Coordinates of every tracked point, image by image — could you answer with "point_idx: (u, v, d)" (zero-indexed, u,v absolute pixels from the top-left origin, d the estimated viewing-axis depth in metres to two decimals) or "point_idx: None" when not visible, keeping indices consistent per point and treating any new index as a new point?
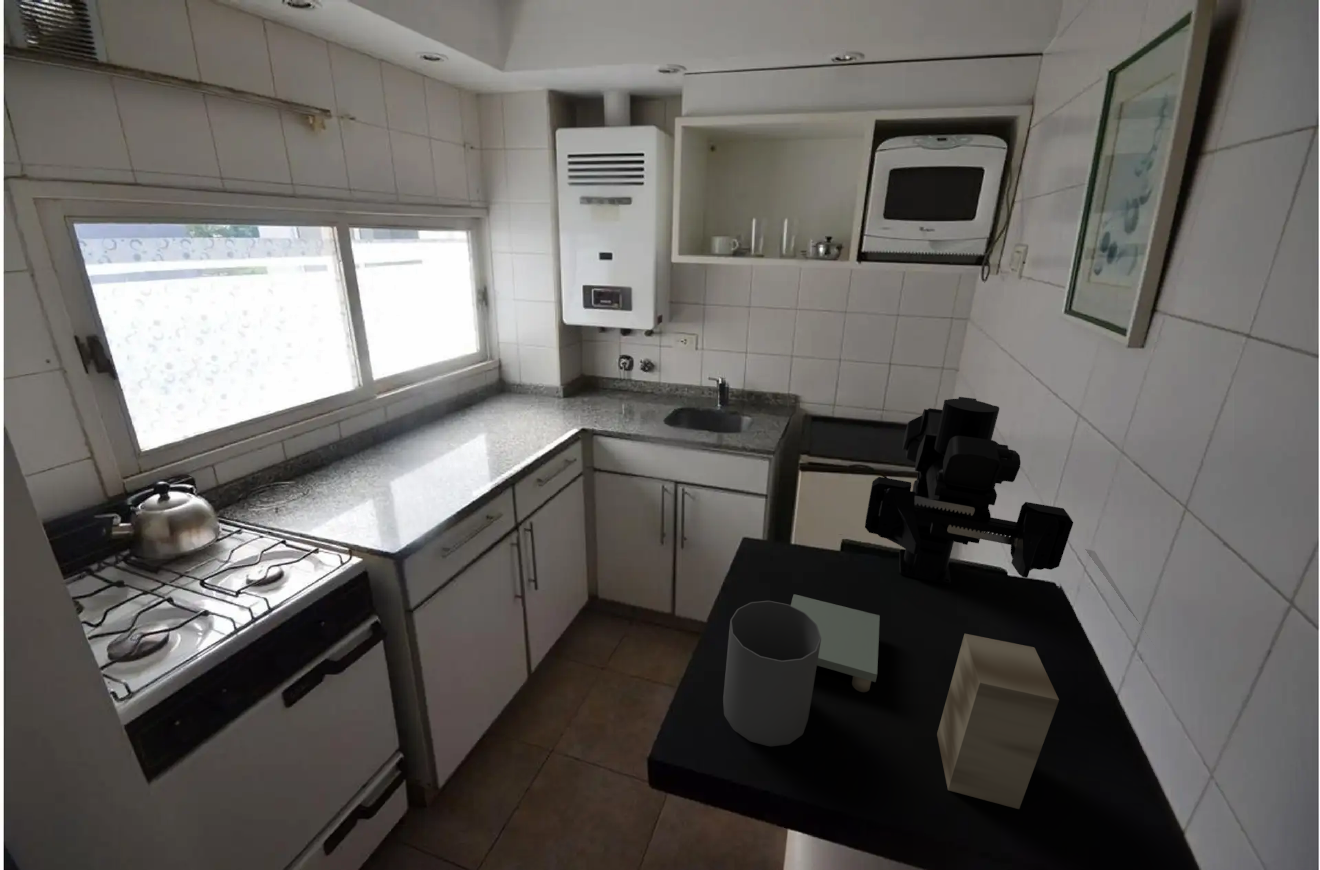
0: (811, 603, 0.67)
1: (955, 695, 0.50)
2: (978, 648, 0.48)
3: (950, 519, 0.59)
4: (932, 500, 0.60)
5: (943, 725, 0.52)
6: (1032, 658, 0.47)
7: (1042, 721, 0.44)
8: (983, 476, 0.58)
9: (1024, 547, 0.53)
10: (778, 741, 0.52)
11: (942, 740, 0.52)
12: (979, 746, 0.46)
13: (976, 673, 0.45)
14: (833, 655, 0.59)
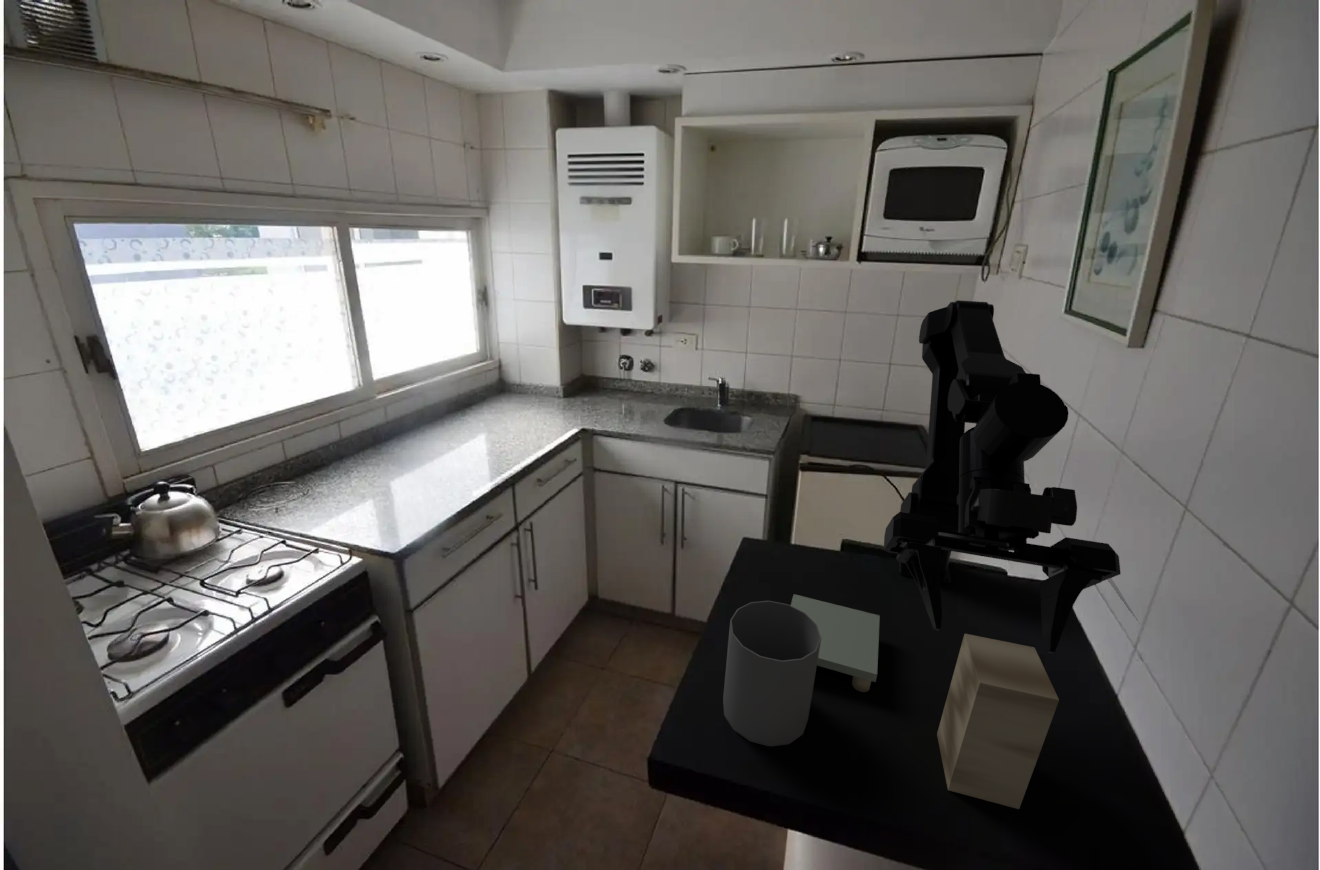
0: (811, 603, 0.67)
1: (955, 695, 0.50)
2: (978, 648, 0.48)
3: (979, 553, 0.54)
4: (961, 538, 0.53)
5: (943, 725, 0.52)
6: (1032, 658, 0.47)
7: (1042, 721, 0.44)
8: None
9: (1055, 617, 0.49)
10: (778, 741, 0.52)
11: (942, 740, 0.52)
12: (979, 746, 0.46)
13: (976, 673, 0.45)
14: (833, 655, 0.59)
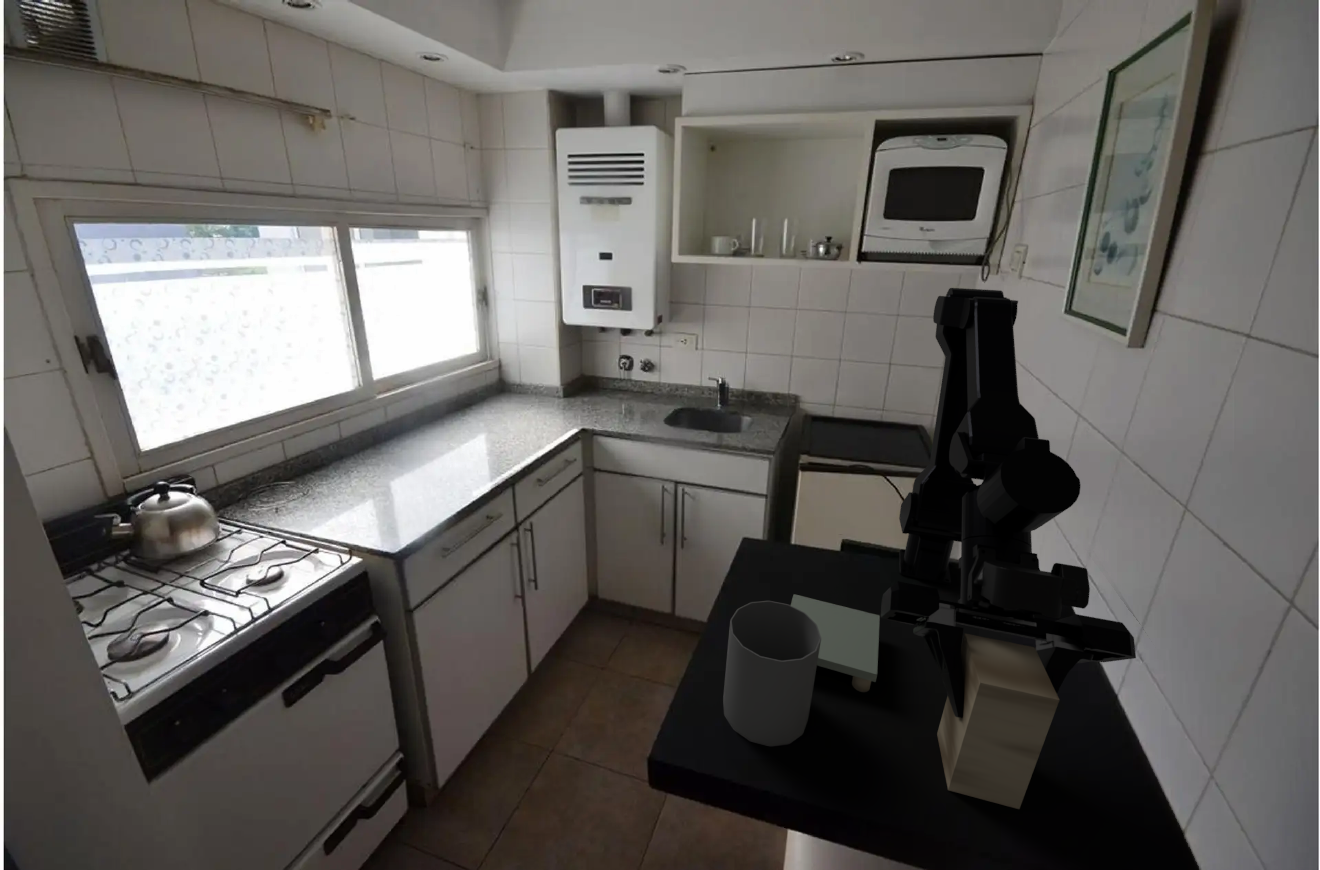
0: (811, 603, 0.67)
1: None
2: (978, 648, 0.48)
3: (983, 627, 0.50)
4: (964, 612, 0.49)
5: (943, 725, 0.52)
6: (1032, 658, 0.47)
7: (1042, 721, 0.44)
8: None
9: None
10: (778, 741, 0.52)
11: (942, 740, 0.52)
12: (979, 746, 0.46)
13: (976, 673, 0.45)
14: (833, 655, 0.59)
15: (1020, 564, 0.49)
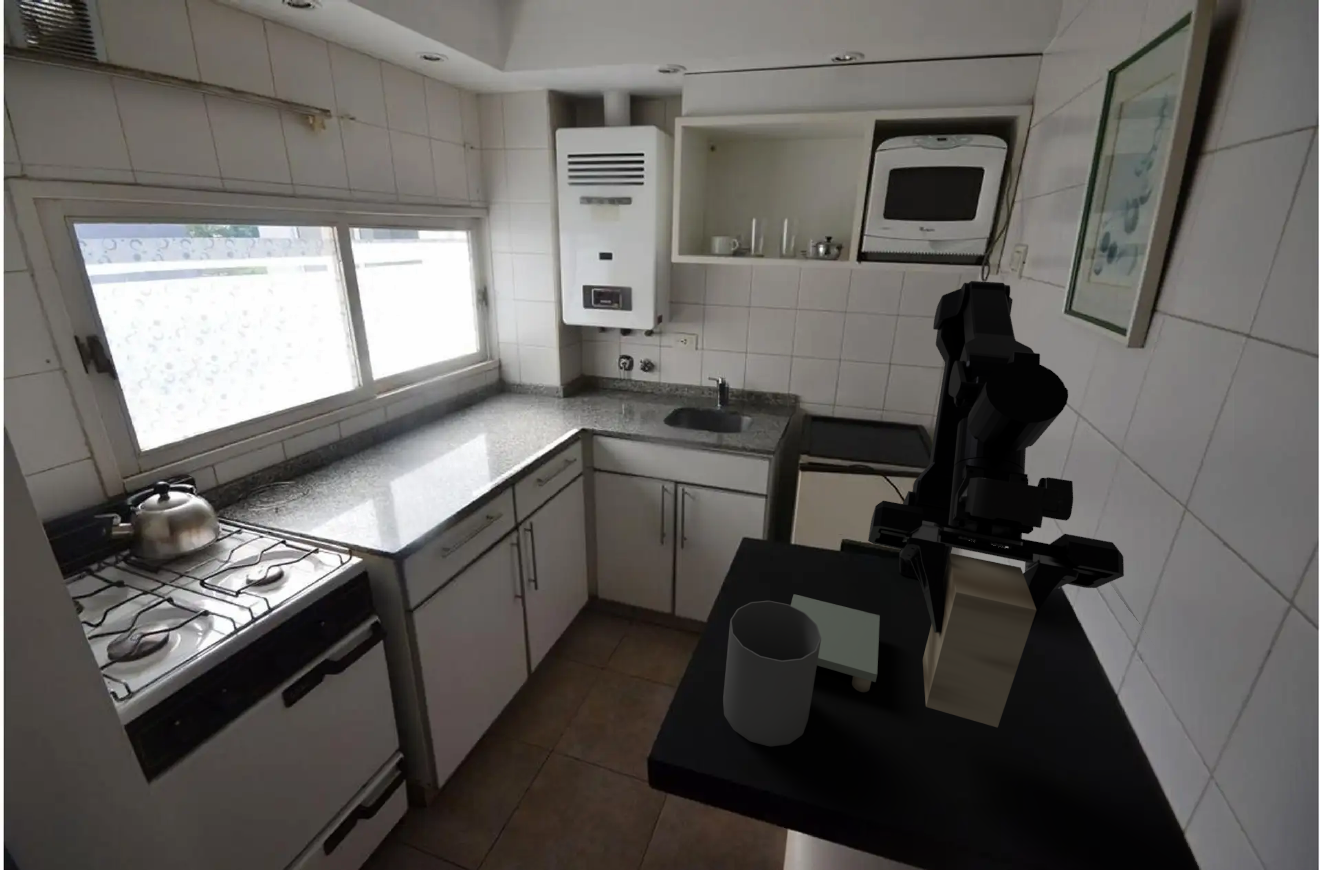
0: (811, 603, 0.67)
1: None
2: (961, 565, 0.48)
3: (969, 548, 0.50)
4: (948, 531, 0.49)
5: (927, 648, 0.52)
6: (1016, 576, 0.46)
7: (1019, 633, 0.43)
8: None
9: None
10: (778, 741, 0.52)
11: (925, 663, 0.52)
12: (956, 660, 0.46)
13: (954, 585, 0.45)
14: (833, 655, 0.59)
15: None
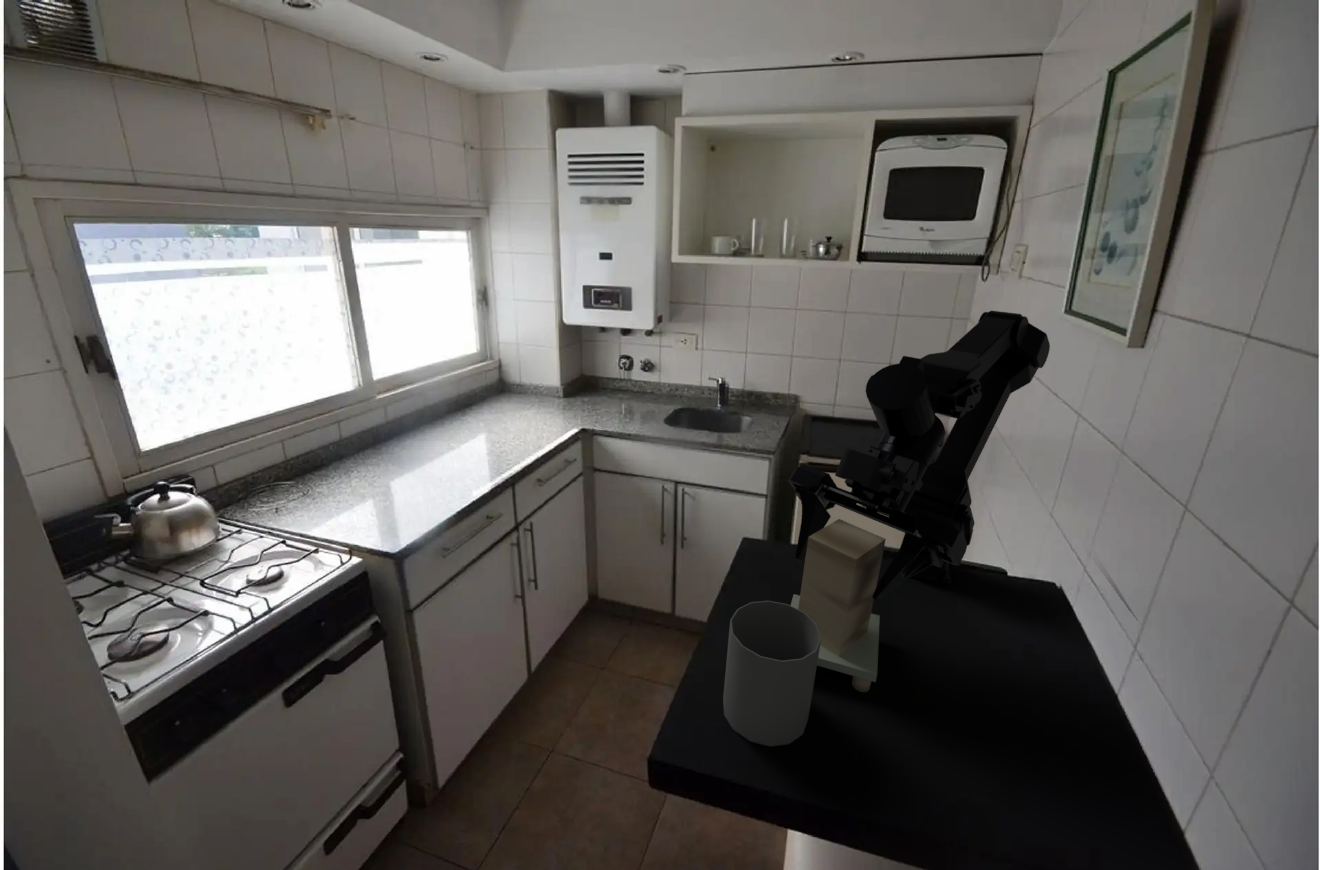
0: None
1: None
2: (837, 526, 0.61)
3: (858, 512, 0.62)
4: (842, 494, 0.62)
5: None
6: (872, 541, 0.58)
7: (847, 577, 0.56)
8: None
9: (886, 571, 0.56)
10: (778, 741, 0.52)
11: None
12: (811, 593, 0.60)
13: (814, 534, 0.59)
14: (833, 655, 0.59)
15: None
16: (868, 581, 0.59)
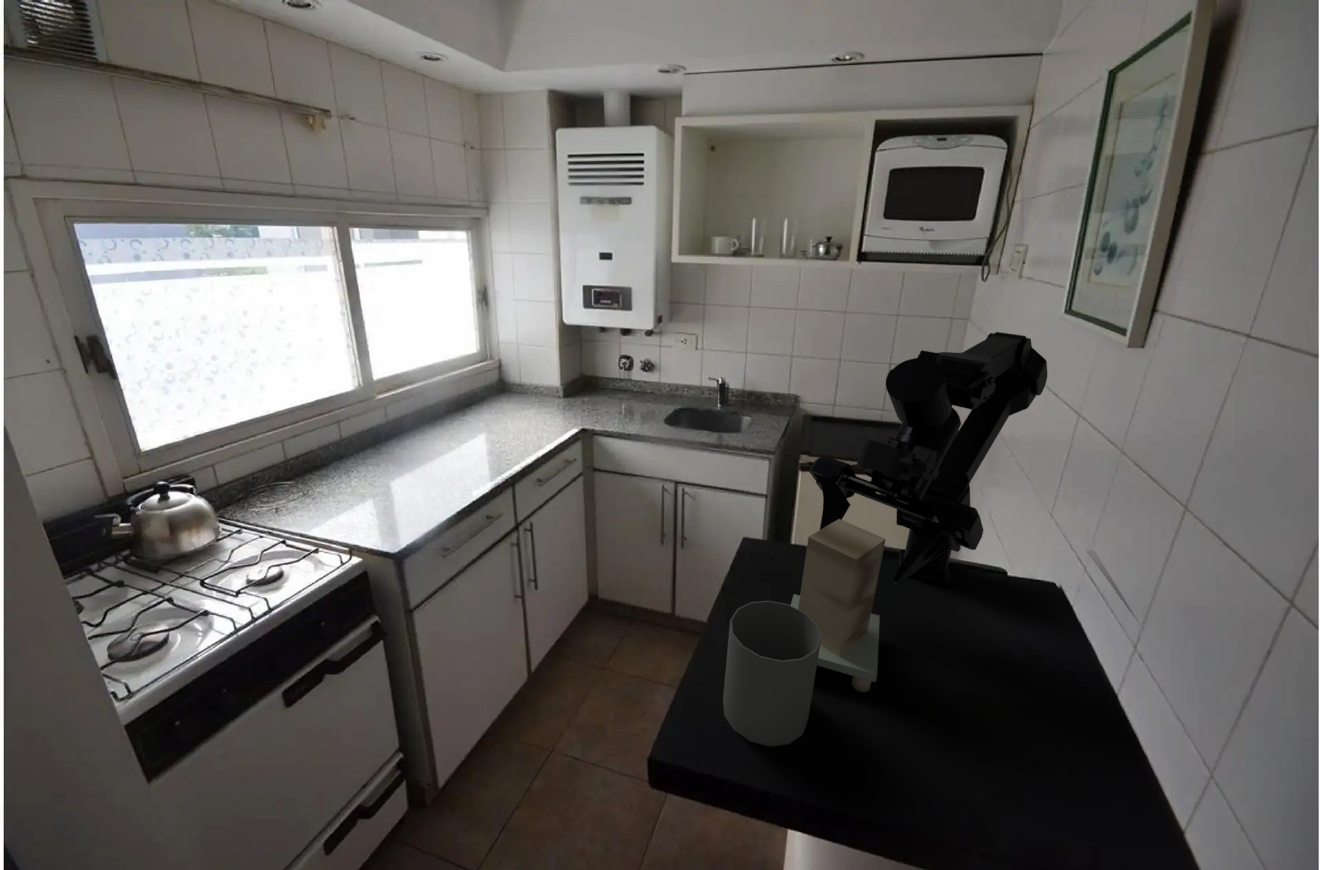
0: None
1: None
2: (837, 526, 0.61)
3: (878, 500, 0.64)
4: (862, 483, 0.65)
5: None
6: (872, 541, 0.58)
7: (847, 577, 0.56)
8: None
9: (907, 556, 0.59)
10: (778, 741, 0.52)
11: None
12: (811, 593, 0.60)
13: (814, 534, 0.59)
14: (833, 655, 0.59)
15: None
16: (868, 581, 0.59)
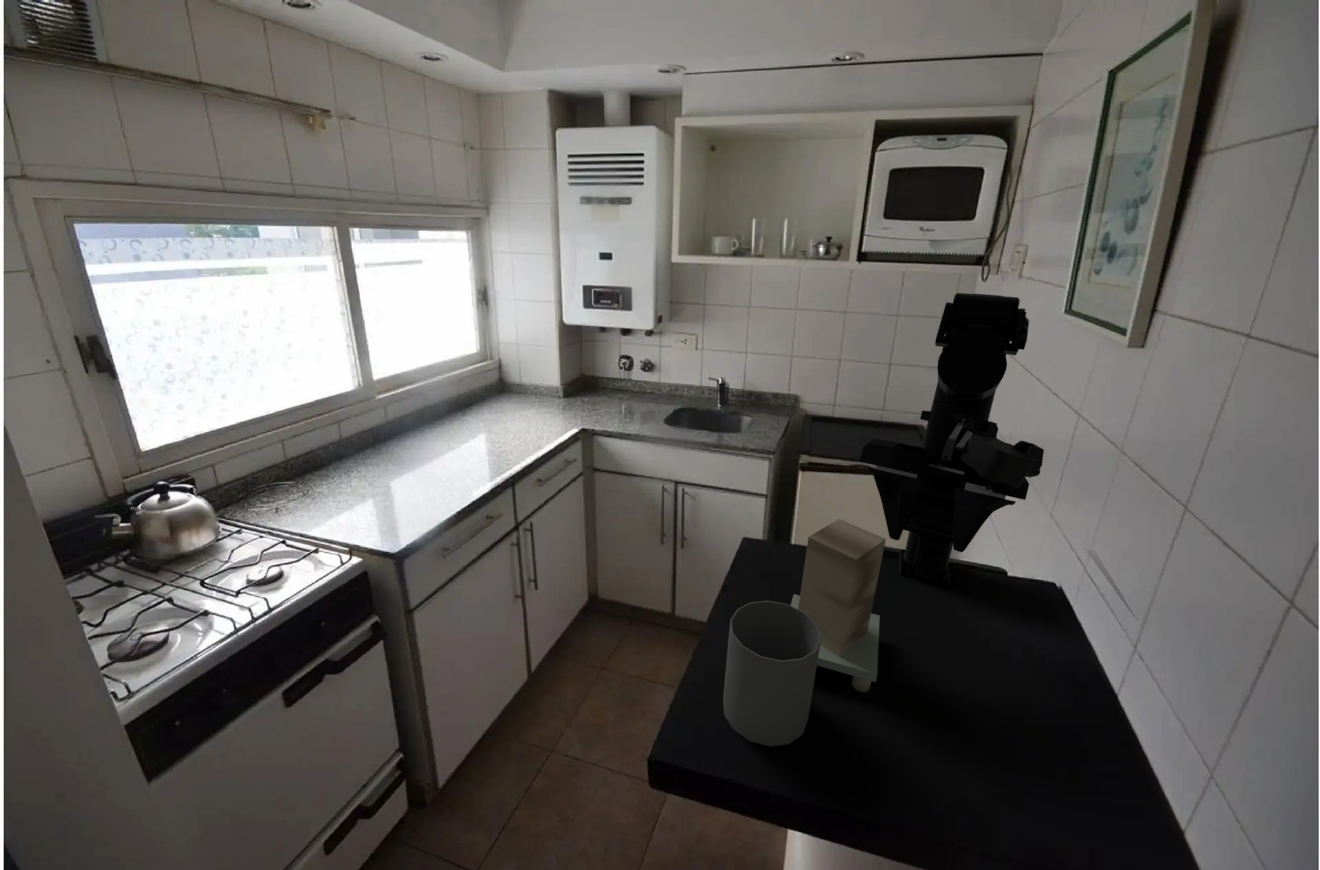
0: None
1: None
2: (837, 526, 0.61)
3: (937, 475, 0.61)
4: (935, 467, 0.59)
5: None
6: (872, 541, 0.58)
7: (847, 577, 0.56)
8: None
9: (972, 528, 0.62)
10: (778, 741, 0.52)
11: None
12: (811, 593, 0.60)
13: (814, 534, 0.59)
14: (833, 655, 0.59)
15: (986, 432, 0.59)
16: (868, 581, 0.59)
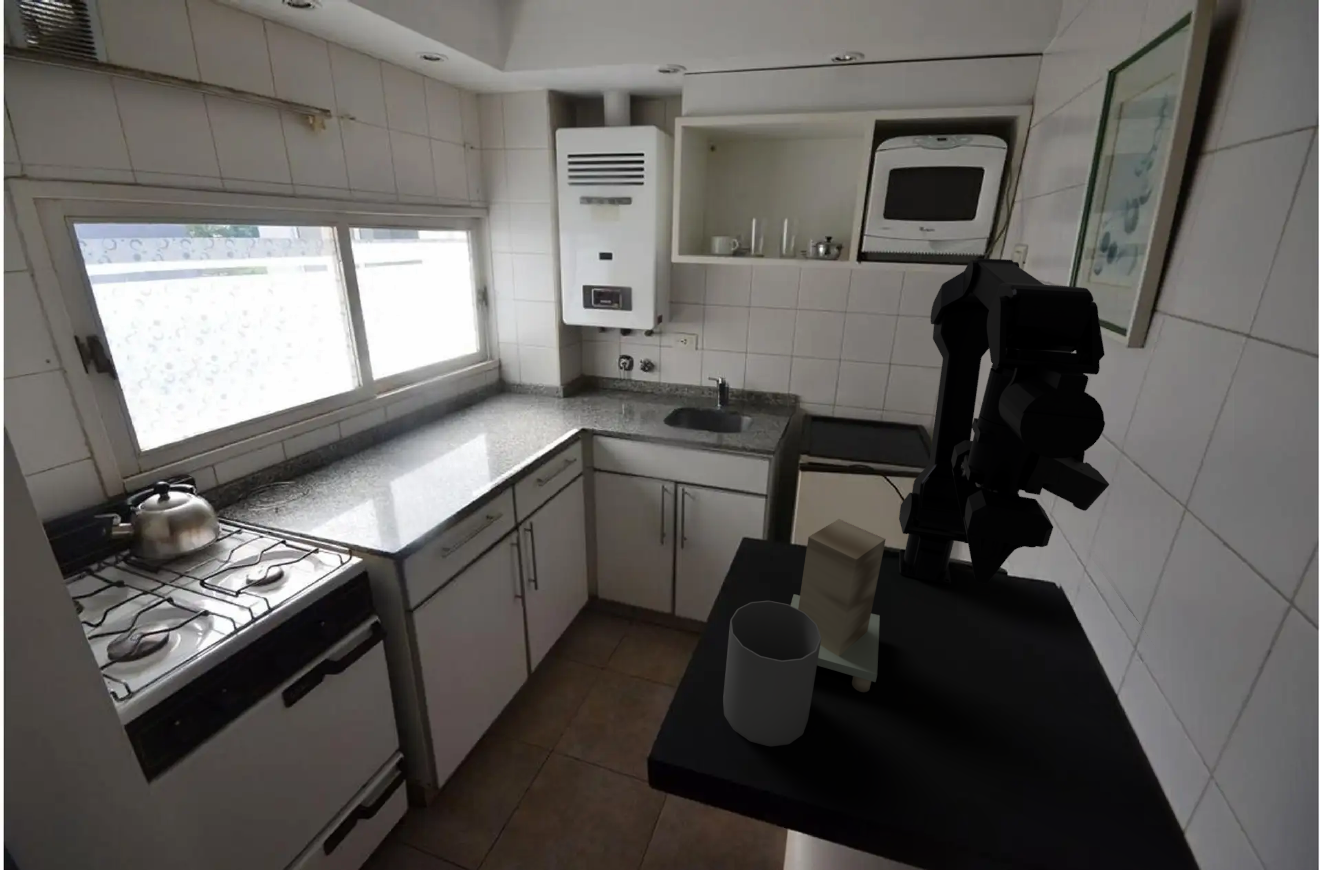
0: None
1: None
2: (837, 526, 0.61)
3: None
4: None
5: None
6: (872, 541, 0.58)
7: (847, 577, 0.56)
8: None
9: None
10: (778, 741, 0.52)
11: None
12: (811, 593, 0.60)
13: (814, 534, 0.59)
14: (833, 655, 0.59)
15: None
16: (868, 581, 0.59)
